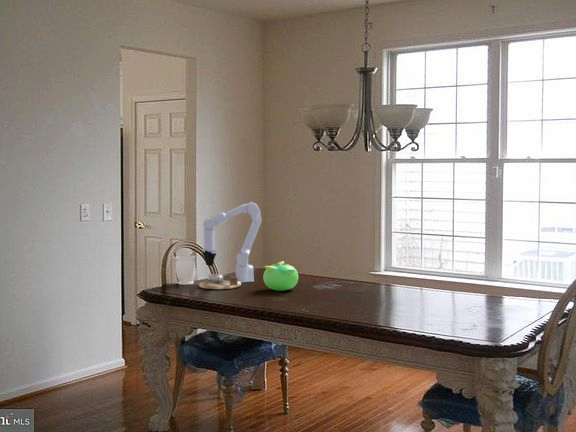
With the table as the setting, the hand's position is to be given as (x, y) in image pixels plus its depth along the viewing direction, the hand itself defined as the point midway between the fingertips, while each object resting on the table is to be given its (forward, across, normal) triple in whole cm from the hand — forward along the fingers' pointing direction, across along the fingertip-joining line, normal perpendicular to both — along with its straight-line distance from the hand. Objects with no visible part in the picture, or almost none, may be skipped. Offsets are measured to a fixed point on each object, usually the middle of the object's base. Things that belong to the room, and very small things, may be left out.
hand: (209, 265), depth 395 cm
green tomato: (+10, +42, +23) cm, 49 cm away
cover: (+8, +10, 0) cm, 12 cm away
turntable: (+9, +16, 0) cm, 19 cm away
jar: (+10, -2, -13) cm, 16 cm away
